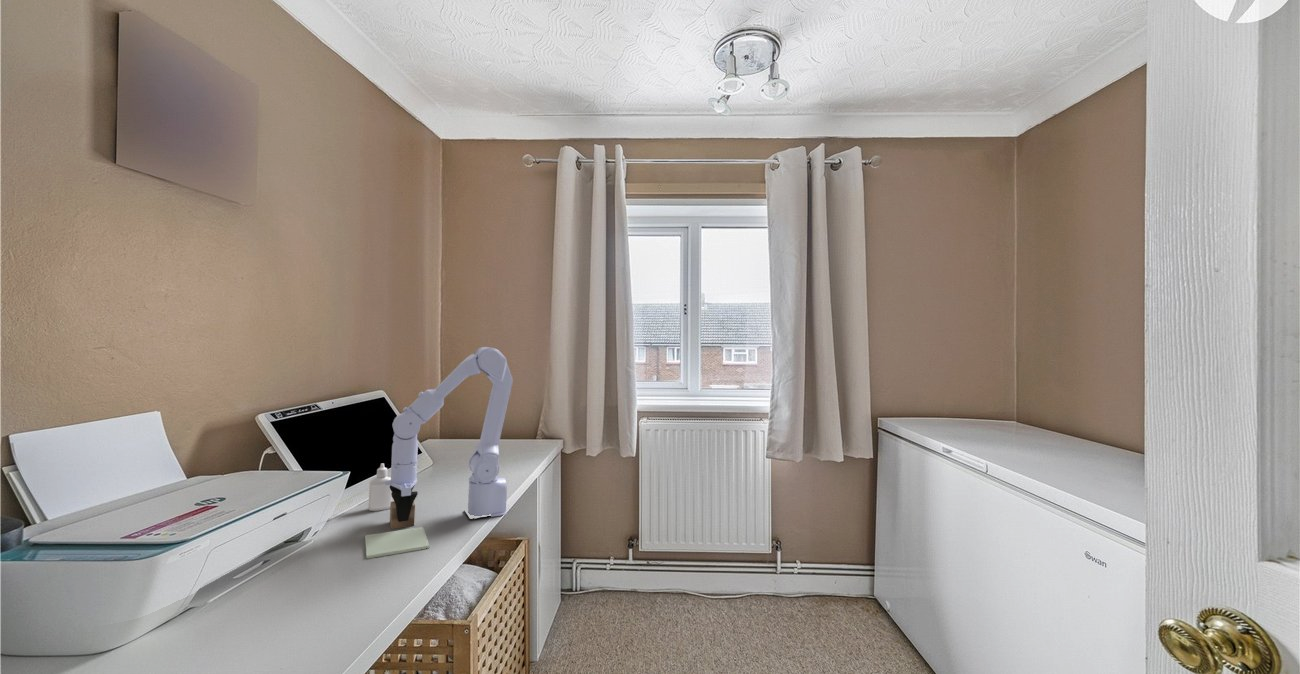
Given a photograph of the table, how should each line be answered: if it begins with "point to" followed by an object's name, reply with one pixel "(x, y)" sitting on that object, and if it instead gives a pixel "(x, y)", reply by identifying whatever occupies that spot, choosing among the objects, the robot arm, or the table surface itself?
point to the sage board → (395, 542)
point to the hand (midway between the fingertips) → (402, 517)
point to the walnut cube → (394, 520)
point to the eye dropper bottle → (380, 491)
